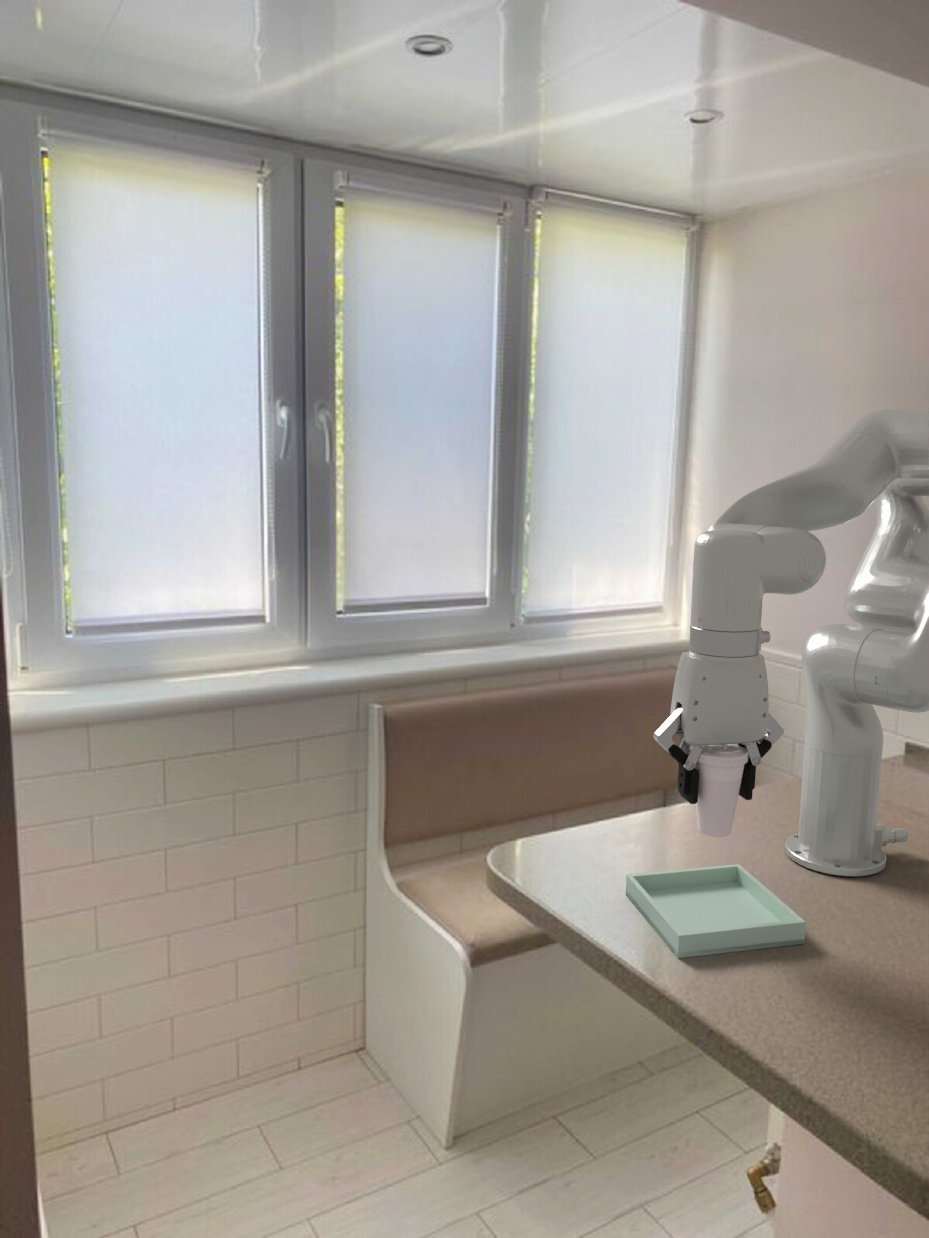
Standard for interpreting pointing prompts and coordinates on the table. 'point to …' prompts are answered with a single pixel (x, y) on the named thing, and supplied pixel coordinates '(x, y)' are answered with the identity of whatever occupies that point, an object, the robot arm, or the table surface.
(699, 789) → the smoothie
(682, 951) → the tray
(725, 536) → the robot arm
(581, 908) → the table surface
